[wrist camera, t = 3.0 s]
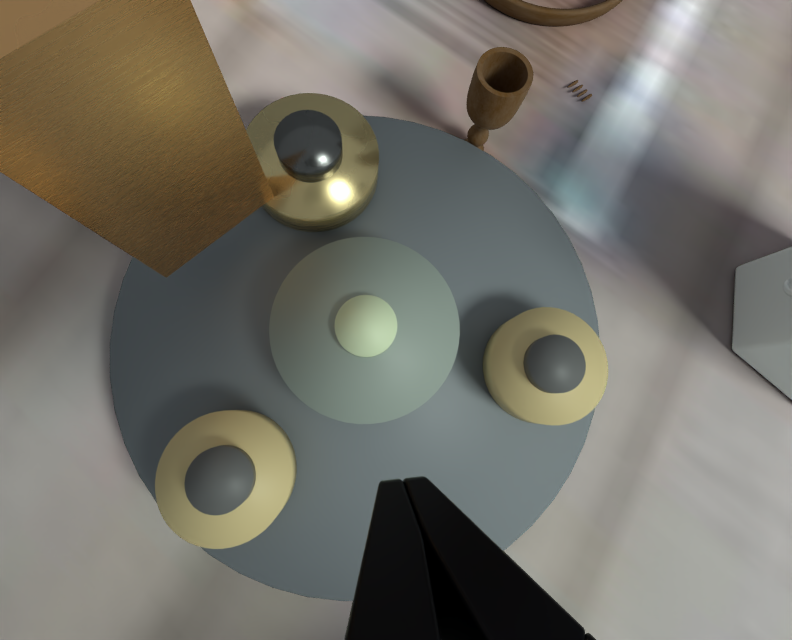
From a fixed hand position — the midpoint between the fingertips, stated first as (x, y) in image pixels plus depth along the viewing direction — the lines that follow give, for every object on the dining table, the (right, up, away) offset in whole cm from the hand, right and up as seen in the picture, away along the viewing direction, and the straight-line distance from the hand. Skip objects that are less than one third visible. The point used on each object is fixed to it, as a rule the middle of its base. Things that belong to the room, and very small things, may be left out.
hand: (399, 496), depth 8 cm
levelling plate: (-2, +2, +13) cm, 13 cm away
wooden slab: (-6, +9, +12) cm, 16 cm away
